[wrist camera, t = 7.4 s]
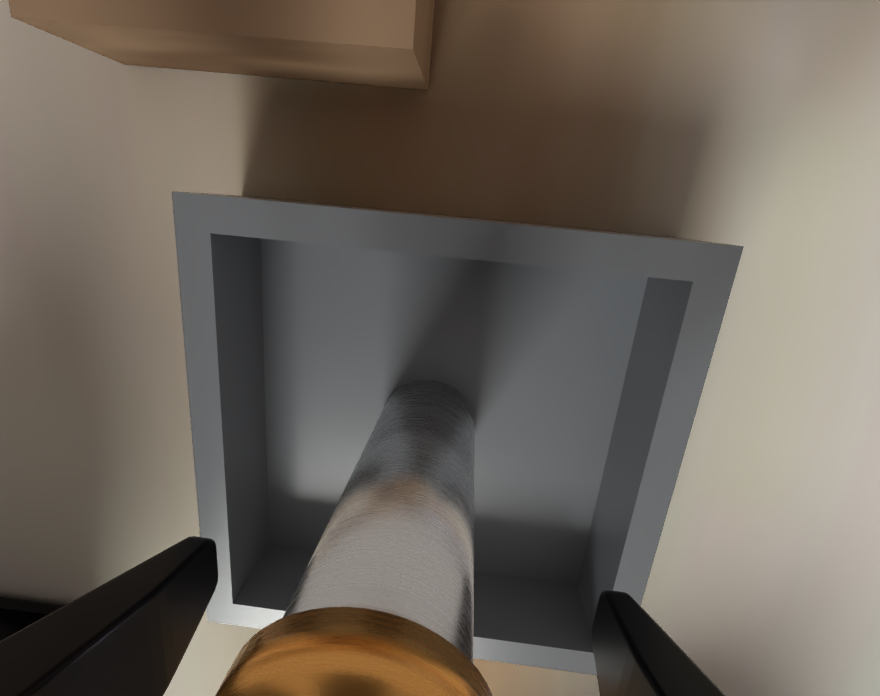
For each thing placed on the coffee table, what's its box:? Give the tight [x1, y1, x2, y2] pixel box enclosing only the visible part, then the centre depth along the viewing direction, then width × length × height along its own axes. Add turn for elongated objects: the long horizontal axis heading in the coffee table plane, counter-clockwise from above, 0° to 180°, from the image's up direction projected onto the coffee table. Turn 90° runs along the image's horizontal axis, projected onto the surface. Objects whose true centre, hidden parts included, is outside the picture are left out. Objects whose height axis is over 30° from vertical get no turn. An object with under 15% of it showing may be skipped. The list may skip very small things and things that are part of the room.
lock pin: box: [215, 380, 492, 696], centre depth 9 cm, size 3×3×9 cm
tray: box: [172, 191, 743, 675], centre depth 13 cm, size 12×12×3 cm
